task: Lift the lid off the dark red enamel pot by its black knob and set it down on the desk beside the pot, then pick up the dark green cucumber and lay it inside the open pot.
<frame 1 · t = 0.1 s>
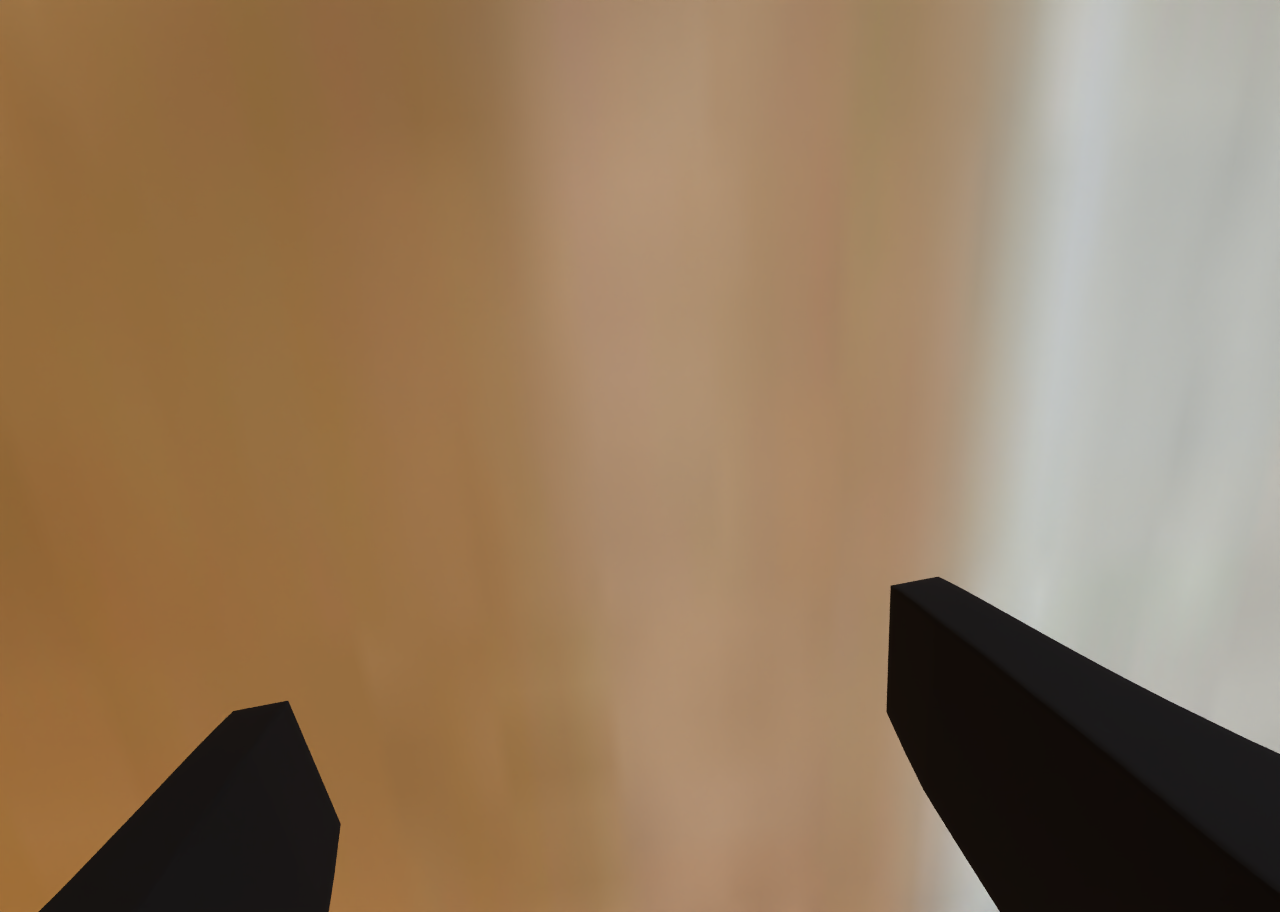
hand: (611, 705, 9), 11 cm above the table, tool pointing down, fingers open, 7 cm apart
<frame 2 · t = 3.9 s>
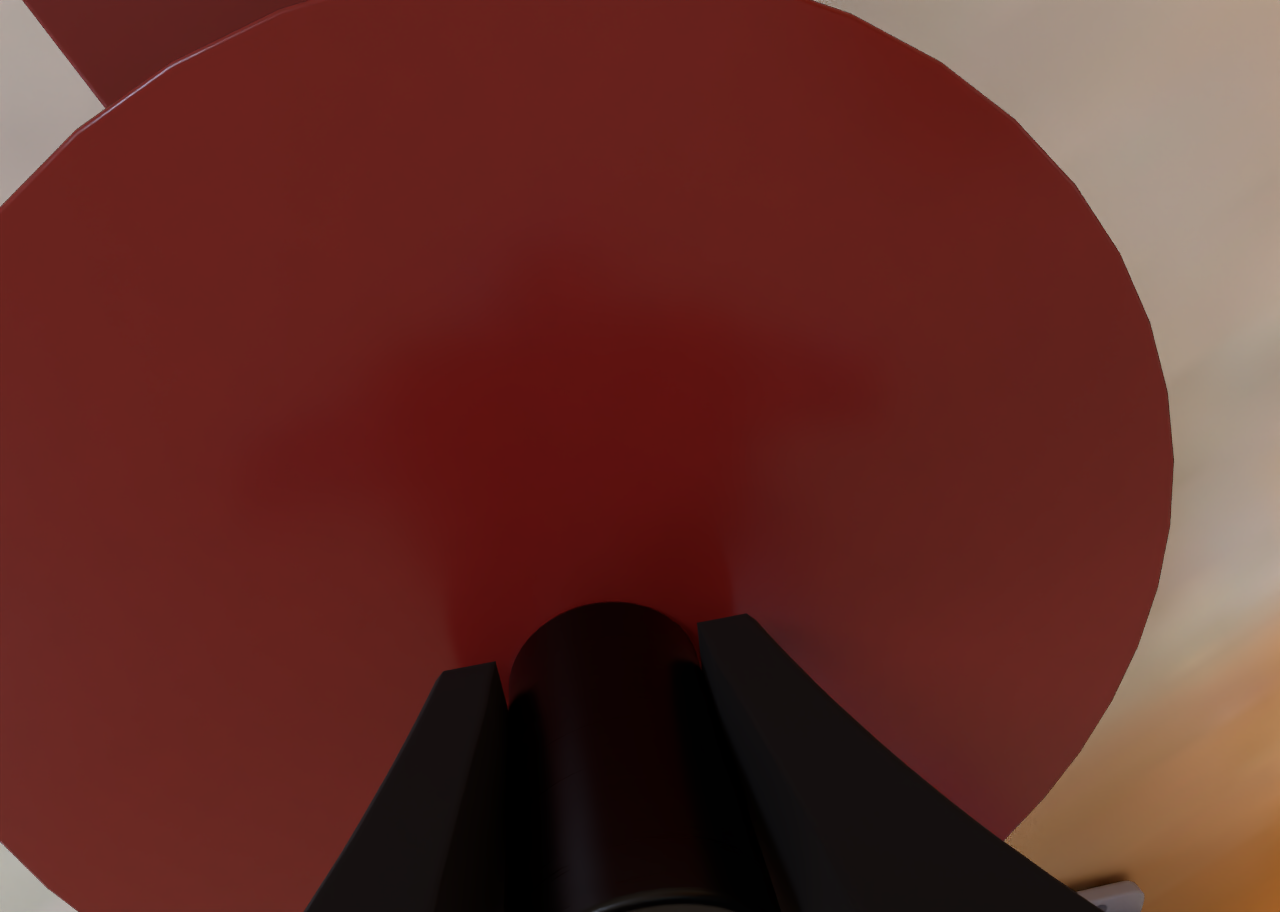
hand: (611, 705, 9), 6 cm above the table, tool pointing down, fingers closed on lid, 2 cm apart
lid: (601, 651, 10), point 5 cm above the table, touching gripper, pot
pot: (577, 486, 14), on the table
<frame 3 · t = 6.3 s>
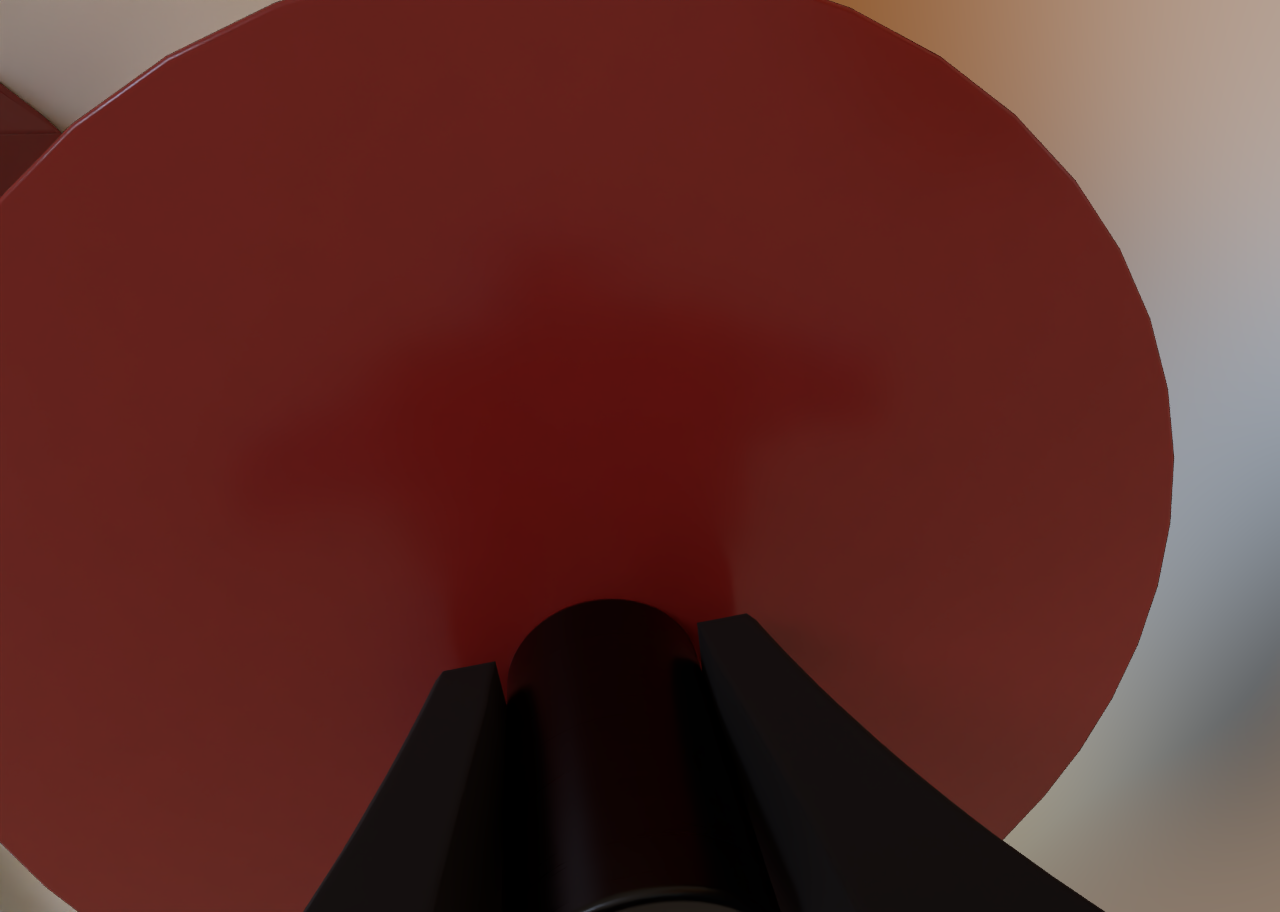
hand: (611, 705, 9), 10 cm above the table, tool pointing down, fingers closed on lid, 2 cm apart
lid: (599, 649, 10), point 9 cm above the table, touching gripper
when the fingers open (2 cm above the table, at t = 8.6 s): lid stays where it is, point 1 cm above the table.
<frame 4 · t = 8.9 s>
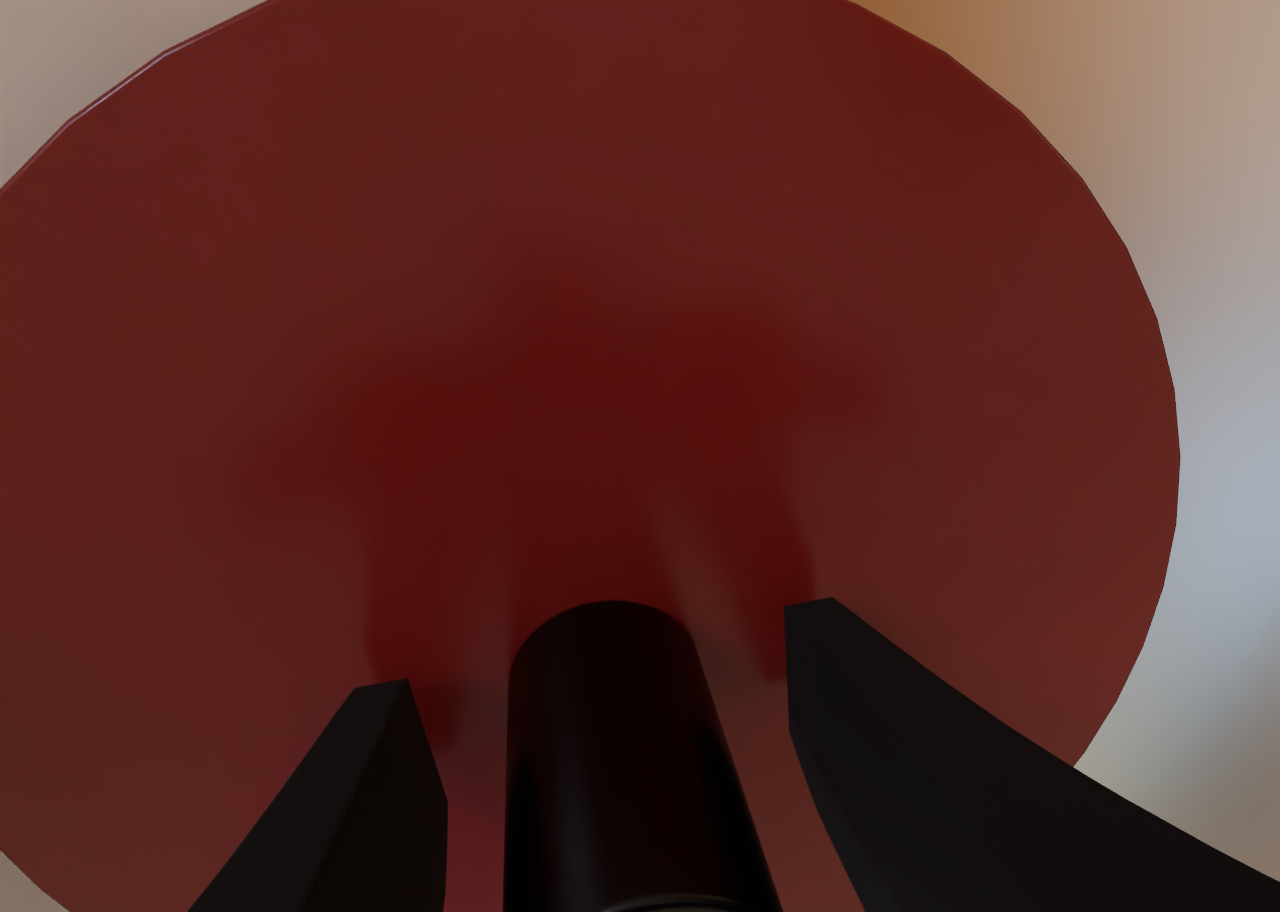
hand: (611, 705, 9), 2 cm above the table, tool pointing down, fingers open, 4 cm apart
lid: (601, 651, 10), point 1 cm above the table
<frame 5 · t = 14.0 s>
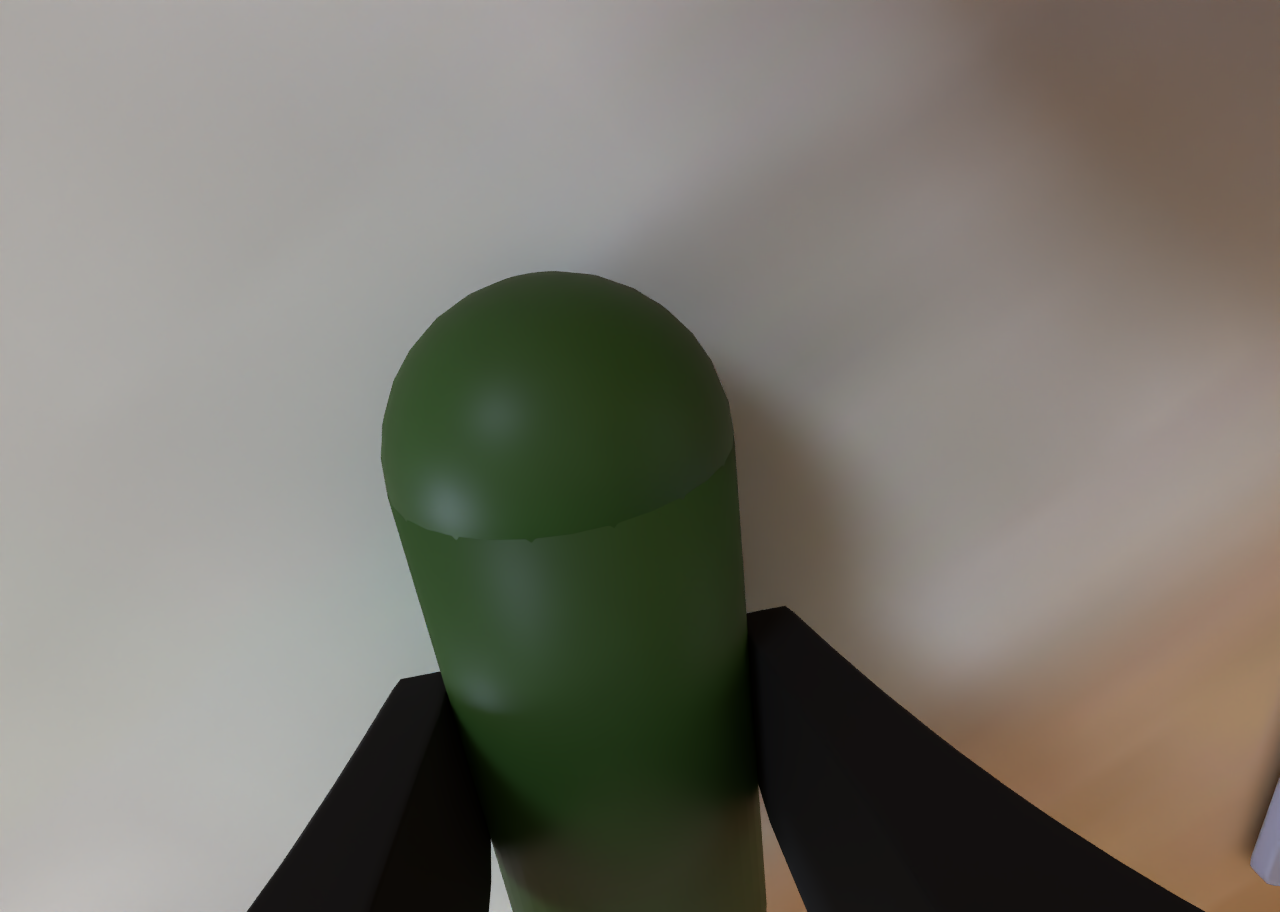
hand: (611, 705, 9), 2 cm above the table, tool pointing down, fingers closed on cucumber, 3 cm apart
cucumber: (596, 624, 10), on the table, touching gripper
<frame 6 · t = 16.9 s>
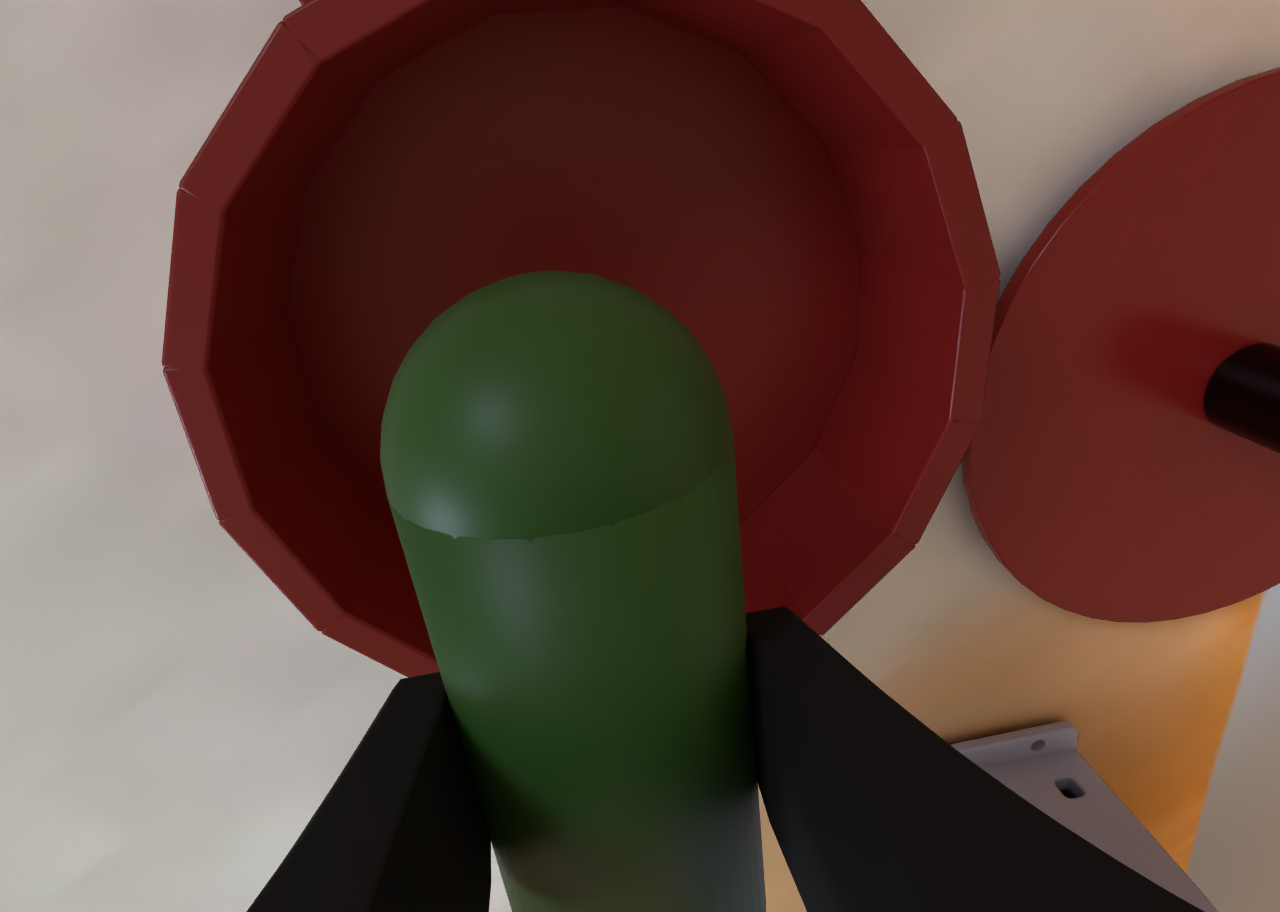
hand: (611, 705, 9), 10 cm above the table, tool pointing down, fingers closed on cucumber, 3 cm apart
cucumber: (595, 624, 10), point 9 cm above the table, touching gripper
lid: (1227, 380, 20), point 1 cm above the table
pot: (589, 329, 17), on the table
when the fingers open (2 cm above the table, at t = 19.8 s): cucumber stays where it is, resting on pot.
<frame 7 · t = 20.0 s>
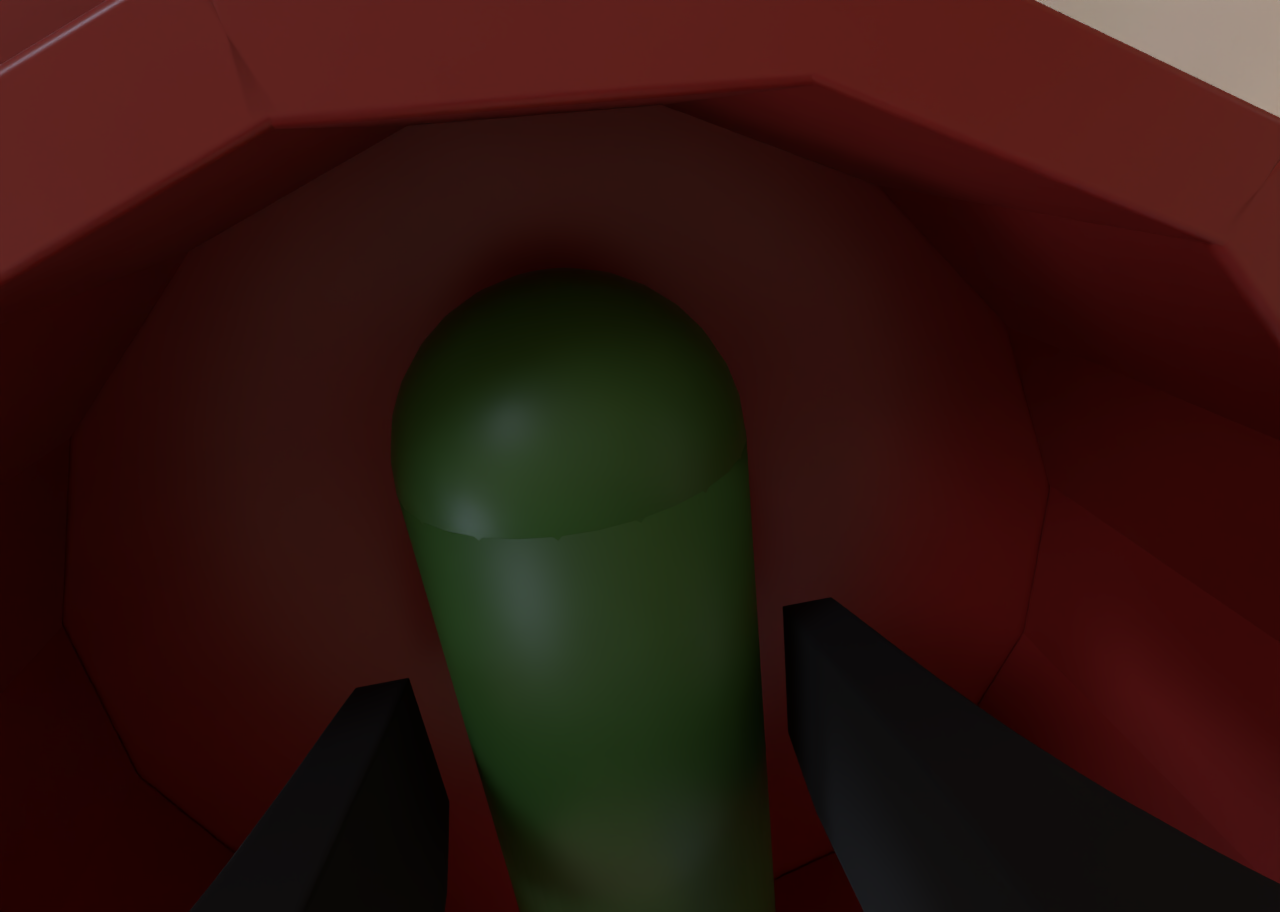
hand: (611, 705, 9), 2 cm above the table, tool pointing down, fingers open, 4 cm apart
cucumber: (596, 626, 10), resting on pot
pot: (596, 610, 11), on the table
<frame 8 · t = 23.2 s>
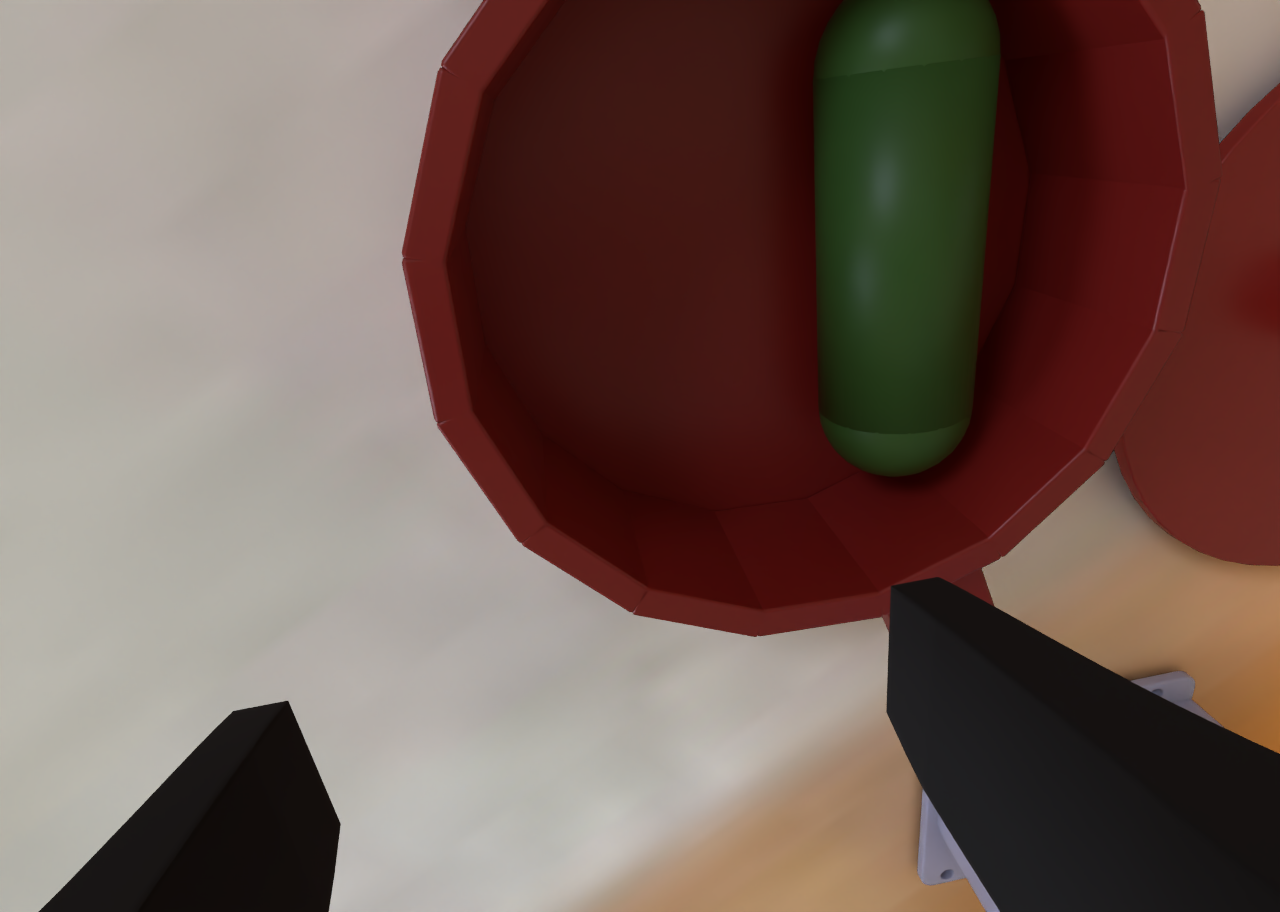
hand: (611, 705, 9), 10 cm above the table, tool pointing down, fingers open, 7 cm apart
cucumber: (819, 262, 16), point 2 cm above the table, tilted 87°, touching pot
pot: (754, 254, 17), on the table
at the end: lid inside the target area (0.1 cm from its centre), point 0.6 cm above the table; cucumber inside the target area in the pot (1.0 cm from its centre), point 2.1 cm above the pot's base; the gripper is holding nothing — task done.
